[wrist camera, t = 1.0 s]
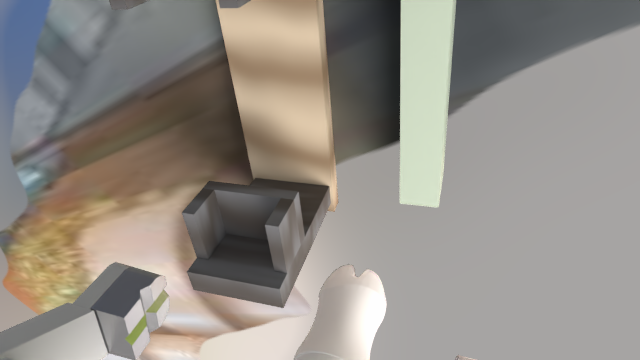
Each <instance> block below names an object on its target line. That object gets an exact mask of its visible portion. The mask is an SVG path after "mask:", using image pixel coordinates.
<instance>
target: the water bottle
mask: <svg viewBox="0 0 640 360" xmlns="http://www.w3.org/2000/svg"><path fill="white" fill-rule="evenodd" d="M386 304H387V303H386V297H385V294H384V289H383V285H382V282H381V280H380V278H379V276H378V275H377V274H376V273H375V272H373V271H371V270H369V269H367V270H365V272H364V273H362V274H361V275H360V276H359V277H356V276H355V270H354V267H353V265H344V266H341V267H339V268H338V269H336V270H335V271H334V272H333V273H332V274H331V275H330V276H329V277H328V279H327V280H326V282H325V283H324V284H323V286H322V288H321V290H320V293H319V305H318V310H317V314H316V317H315V321H314V323H313V325H312V328H311V329H310V332H309V333H308V335H307V337H306V338H305V340H304V341H303V343H302V344H301V346H300V347H299V348H298V350H297V352H296V355H295V358H294V360H369V359H370V351H371V346H372V342H373V338H374V336H375V333H376V331H377V329H378V327H379V325H380V324H381V322H382V320H383V318H384V315H385V311H386Z"/></svg>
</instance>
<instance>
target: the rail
mask: <svg viewBox="0 0 640 360" xmlns="http://www.w3.org/2000/svg"><path fill="white" fill-rule="evenodd" d="M455 8H456V0H401V68H400V204H410V205H420V206H428V207H439V200H440V193H441V186H442V179H443V171H444V158H445V145H446V144H445V143H446V131H447V118H448V117H447V116H448V103H449V89H450V76H451V62H452V49H453V35H454V22H455Z"/></svg>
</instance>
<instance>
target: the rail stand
mask: <svg viewBox="0 0 640 360" xmlns="http://www.w3.org/2000/svg"><path fill="white" fill-rule="evenodd" d="M147 1H149V0H109V2H110V5H111V8H112V10H126V9H130V8H132V7H135V6H137V5H139V4H142V3H144V2H147ZM216 4H217V9H218V14H219V19H220V23H221V28H222V33H223V38H224V42H225V47H226V52H227V57H228V62H229V66H230V71H231V76H232V81H233V85H234V90H235V95H236V100H237V104H238V109H239V114H240V119H241V123H242V128H243V133H244V138H245V142H246V147H247V152H248V157H249V161H250V166H251V171H252V176H253V181H252V183H251V184H250V186H247V185H239V184H230V183H222V182H214V181H209V182H208V183H207V184H206V185H205V186H204V188H203V189H202V190H201V191H200V192H199V193H198V195H197V196H196V197H195V198H194V199H193V200H192V202H191V203H190V204H189V205H188V206H187V207H186V209H185V210H184V211H183V212H182V215H183V218H184V221H185V223H186V226H187V229H188V232H189V235H190V238H191V241H192V244H193V247H194V250H195V253H196V256H197V259H196V260H195V261H194V263H193V264H192V266H191V267H190V268H189V270H188V271H187V273H188V276H189V279H190V281H191V284H192V287H193V289H194V290H197V291H202V292H207V293H212V294H217V295H222V296H227V297H232V298H237V299H242V300H247V301H252V302H257V303H262V304H267V305H271V306H276V307H281V308H284V306H285V303H286V301H287V299H288V297H289V295H290V292H291V290H292V288H293V286H294V283H295V281H296V279H297V277H298V275H299V272H300V270H301V268H302V266H303V264H304V261H305V259H306V257H307V255H308V253H309V250H310V248H311V246H312V243H313V242H314V239H315V237H316V235H317V233H318V230H319V228H320V226H321V224H322V222H323V219H324V217H325V215H326V213H327V211H333V212H334V211H335V208H336V206H337V204H338V193H337V180H336V167H335V154H334V141H333V128H332V115H331V102H330V89H329V76H328V63H327V50H326V37H325V24H324V11H323V0H216Z"/></svg>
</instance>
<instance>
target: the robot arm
mask: <svg viewBox="0 0 640 360" xmlns="http://www.w3.org/2000/svg"><path fill="white" fill-rule="evenodd" d="M166 285H167V283H166V279H165V276H161V275H158V274H155V273H151V272H148V271H145V270H141V269H138V268H134V267H131V266H128V265H124V264H120V263H117V262H115V263H113V264H111V265H109V266H108V267H107V268H106V269H105V270H104V271H103V272H102V273H101V274H100V276H99V277H98V278H97V279H96V280H95V281H94V282H93V283H92V284H91V285H90V286H89V287H88V288H87V289H86V290H85V291H84V292H83V293H82V294H81V295H80V296H79V297H78V298H77V300H76V301H75V302H74V303H73V304H71V303H66V304H64V305H61V306H59V307H57V308H55V309H52V310H50V311H48V312H45V313H43V314H41V315H39V316H36V317H34V318H32V319H29V320H27V321H25V322H23V323H21V324H18V325H16V326H14V327H11V328H9V329H7V330H4V331H2V332H0V360H101V359H103V358H104V357H106V356H107V355H108V353H110V354H114V355H117V356H121V357H124V358H128V359H132V360H137V359H138V357H139V356H140V354H141V353H142V352H143V350H144V349H145V347H146V346H147V345H148V343H149V342H150V332H152V331H154V330H156V329H158V328H159V327H160V326H161V324H162V323H163V321H164V320H165V318H166V315H167V313H168V310H169V304H170V300H169V295H168V294H167V293H166V292H165V290H164V288H165V287H166ZM455 360H476V359H472V358H468V357H464V356H460V355H458V356H456V358H455Z"/></svg>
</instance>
